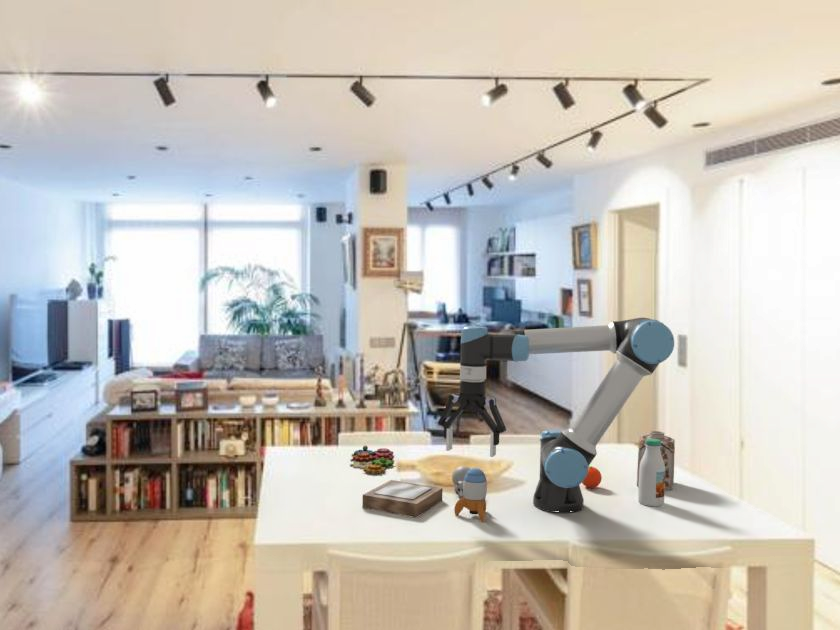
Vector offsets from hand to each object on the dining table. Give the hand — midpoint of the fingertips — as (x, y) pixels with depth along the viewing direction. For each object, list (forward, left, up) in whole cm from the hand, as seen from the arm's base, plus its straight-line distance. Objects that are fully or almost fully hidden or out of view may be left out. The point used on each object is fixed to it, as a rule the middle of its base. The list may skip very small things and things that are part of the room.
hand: (470, 452), depth 216 cm
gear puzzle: (+53, -37, -19) cm, 68 cm away
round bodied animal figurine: (+10, -18, -19) cm, 28 cm away
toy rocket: (0, 0, -19) cm, 19 cm away
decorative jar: (-43, -60, -19) cm, 76 cm away
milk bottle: (-45, -38, -19) cm, 62 cm away
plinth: (+22, 0, -19) cm, 29 cm away
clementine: (-24, -46, -19) cm, 55 cm away
